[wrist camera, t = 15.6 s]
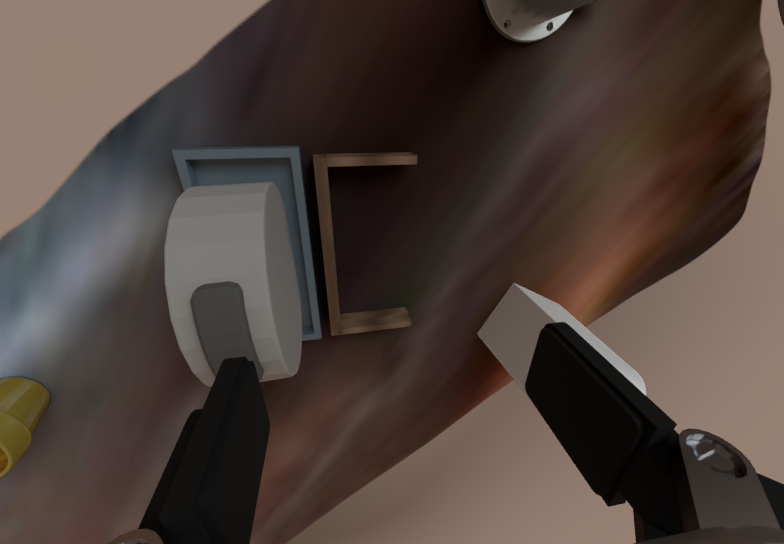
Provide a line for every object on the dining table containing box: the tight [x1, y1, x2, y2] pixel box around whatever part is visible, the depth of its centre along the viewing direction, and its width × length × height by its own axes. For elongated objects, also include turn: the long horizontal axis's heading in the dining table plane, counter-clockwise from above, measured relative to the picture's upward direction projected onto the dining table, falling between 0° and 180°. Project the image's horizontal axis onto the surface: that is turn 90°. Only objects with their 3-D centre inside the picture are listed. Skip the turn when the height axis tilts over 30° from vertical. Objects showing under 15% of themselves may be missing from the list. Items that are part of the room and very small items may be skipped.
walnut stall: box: [313, 152, 417, 336], centre depth 44 cm, size 12×25×4 cm, turn 0°
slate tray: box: [172, 146, 322, 341], centre depth 42 cm, size 13×27×3 cm, turn 0°
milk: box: [477, 283, 646, 397], centre depth 47 cm, size 12×12×26 cm
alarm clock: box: [164, 182, 302, 387], centre depth 34 cm, size 21×8×20 cm, turn 2°
